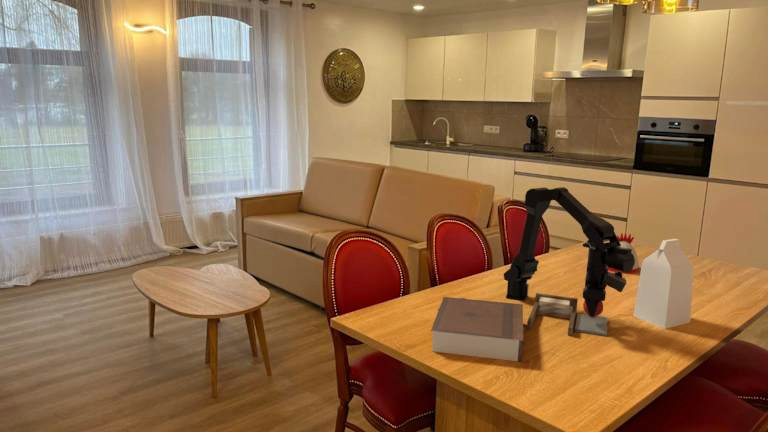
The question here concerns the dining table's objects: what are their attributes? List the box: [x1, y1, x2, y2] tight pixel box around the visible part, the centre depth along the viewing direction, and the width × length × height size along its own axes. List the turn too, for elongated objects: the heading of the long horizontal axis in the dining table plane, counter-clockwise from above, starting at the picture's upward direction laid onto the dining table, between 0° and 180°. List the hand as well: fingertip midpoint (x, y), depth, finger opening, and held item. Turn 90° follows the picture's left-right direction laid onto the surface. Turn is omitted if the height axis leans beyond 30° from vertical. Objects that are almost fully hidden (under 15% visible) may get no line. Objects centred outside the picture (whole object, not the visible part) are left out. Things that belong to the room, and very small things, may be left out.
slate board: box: [574, 313, 609, 337], centre depth 178 cm, size 9×14×1 cm, turn 158°
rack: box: [526, 292, 579, 337], centre depth 180 cm, size 13×20×5 cm, turn 158°
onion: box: [582, 300, 604, 318], centre depth 177 cm, size 6×6×8 cm
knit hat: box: [607, 232, 640, 274], centre depth 238 cm, size 14×14×15 cm
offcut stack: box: [537, 297, 573, 320], centre depth 186 cm, size 11×4×4 cm, turn 68°
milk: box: [632, 238, 694, 330], centre depth 181 cm, size 12×12×26 cm
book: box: [430, 296, 524, 363], centre depth 167 cm, size 24×28×6 cm
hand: (592, 312), depth 177 cm, fingers closed on onion, 6 cm apart
